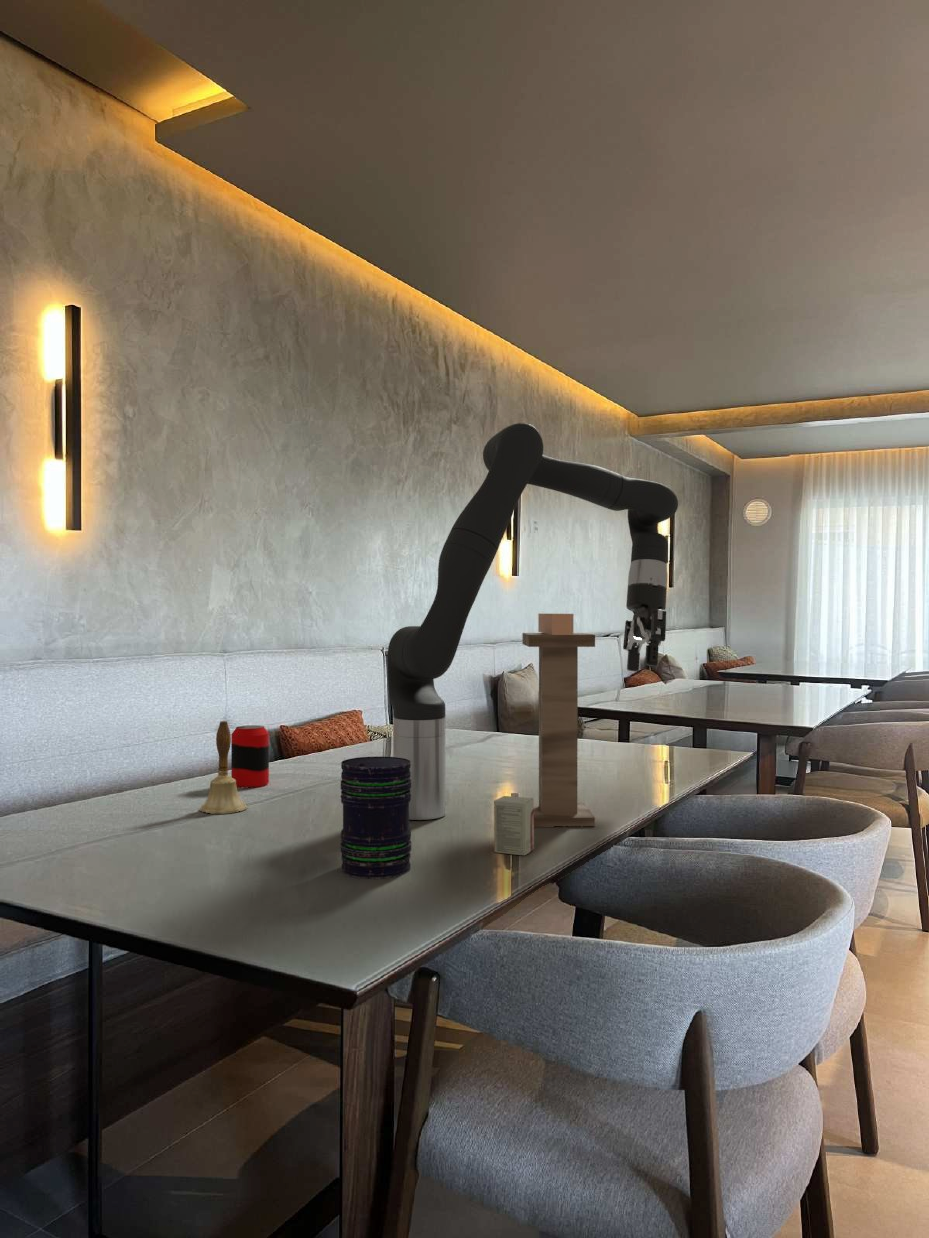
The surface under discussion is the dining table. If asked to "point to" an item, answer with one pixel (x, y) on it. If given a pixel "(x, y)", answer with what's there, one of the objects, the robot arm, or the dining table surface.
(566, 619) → the block
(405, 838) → the storage jar
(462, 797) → the dining table surface
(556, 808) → the wooden pedestal stand
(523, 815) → the small box
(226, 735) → the hand bell
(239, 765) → the soda can
